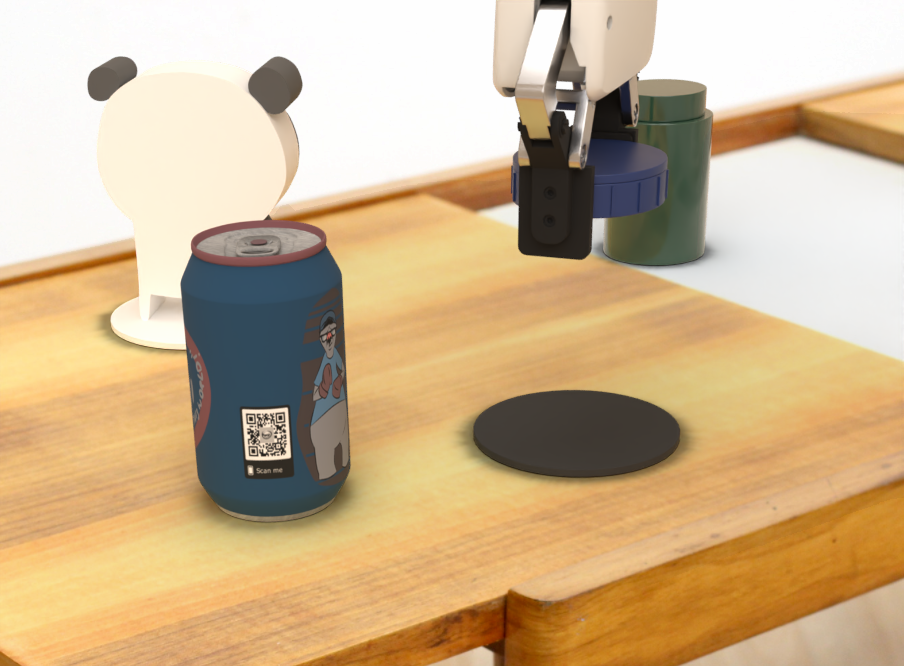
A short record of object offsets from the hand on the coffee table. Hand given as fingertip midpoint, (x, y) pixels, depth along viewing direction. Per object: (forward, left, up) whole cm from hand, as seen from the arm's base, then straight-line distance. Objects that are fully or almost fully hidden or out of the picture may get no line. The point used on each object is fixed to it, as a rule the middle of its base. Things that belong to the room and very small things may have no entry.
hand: (578, 229), depth 71 cm
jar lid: (0, 0, +3) cm, 3 cm away
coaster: (0, 0, -10) cm, 10 cm away
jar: (-13, -29, -10) cm, 33 cm away
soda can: (+15, +4, -10) cm, 19 cm away
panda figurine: (+17, -22, -10) cm, 30 cm away
